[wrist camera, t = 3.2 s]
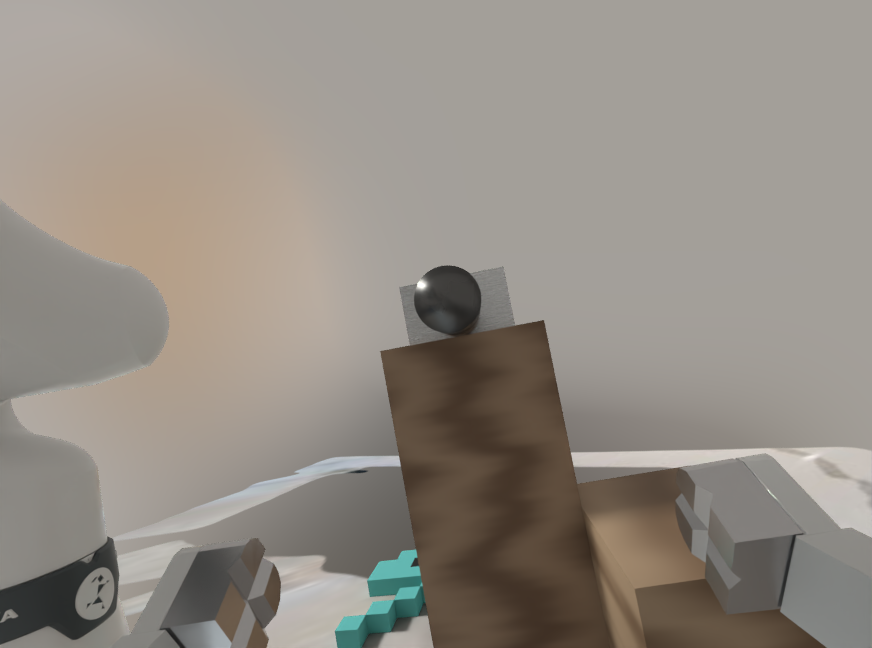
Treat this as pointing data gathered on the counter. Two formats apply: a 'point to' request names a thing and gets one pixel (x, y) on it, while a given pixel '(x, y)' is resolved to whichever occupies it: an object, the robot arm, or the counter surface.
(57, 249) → the robot arm
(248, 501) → the counter surface
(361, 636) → the alien figure
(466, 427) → the step stand
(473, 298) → the mallet
